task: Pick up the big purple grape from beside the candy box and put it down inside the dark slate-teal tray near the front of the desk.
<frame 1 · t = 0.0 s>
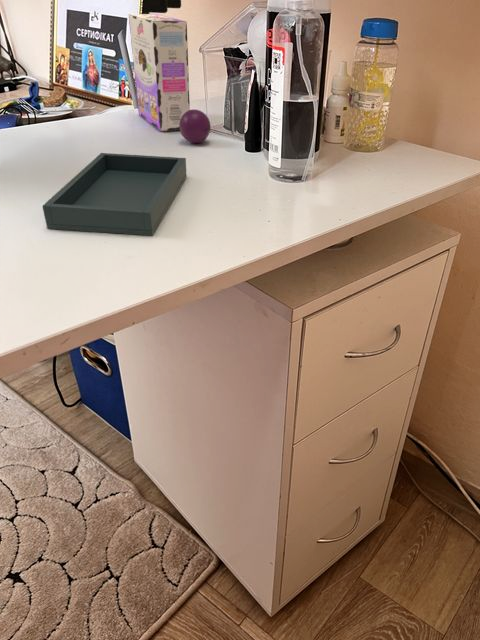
hand: (163, 10, 79), 18 cm above the table, tool pointing down, fingers open, 9 cm apart
grape: (195, 142, 87), on the table
candy box: (163, 123, 97), on the table
tray: (125, 199, 65), on the table
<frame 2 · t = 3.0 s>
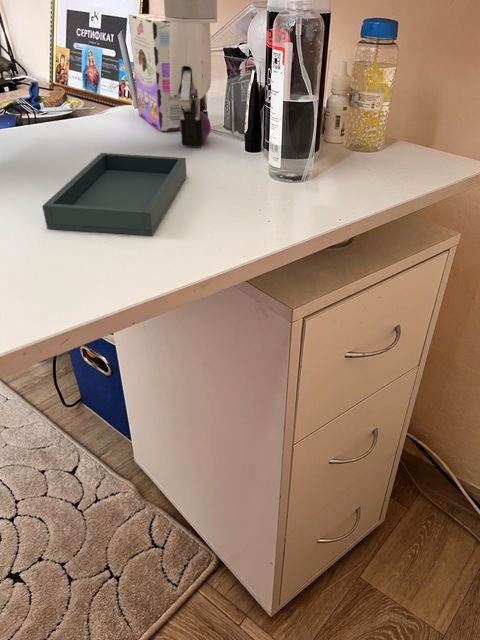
hand: (195, 139, 87), 0 cm above the table, tool pointing down, fingers closed on grape, 4 cm apart
grape: (195, 142, 87), on the table, touching gripper
everything else where it was.
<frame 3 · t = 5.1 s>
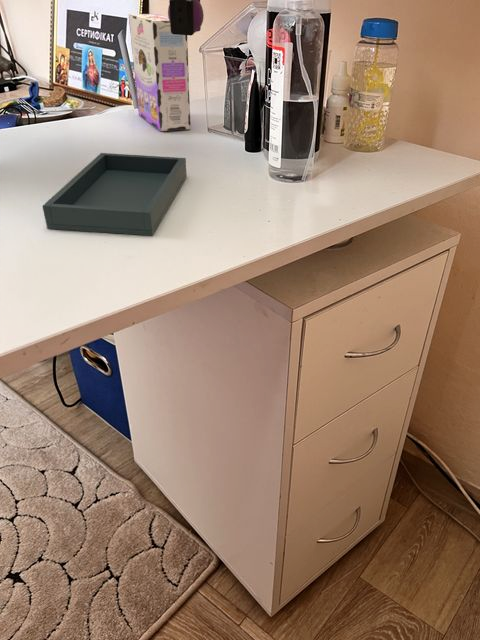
hand: (186, 31, 76), 16 cm above the table, tool pointing down, fingers closed on grape, 4 cm apart
grape: (186, 34, 77), point 15 cm above the table, touching gripper
everything else where it was.
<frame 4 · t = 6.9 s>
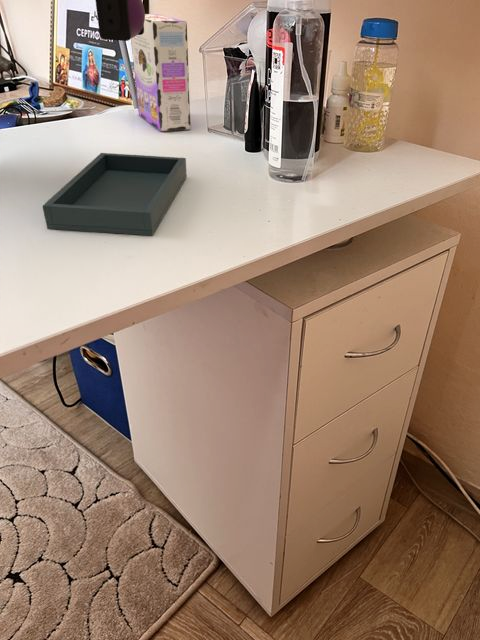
hand: (123, 34, 59), 17 cm above the table, tool pointing down, fingers closed on grape, 4 cm apart
grape: (124, 39, 59), point 17 cm above the table, touching gripper
everything else where it was.
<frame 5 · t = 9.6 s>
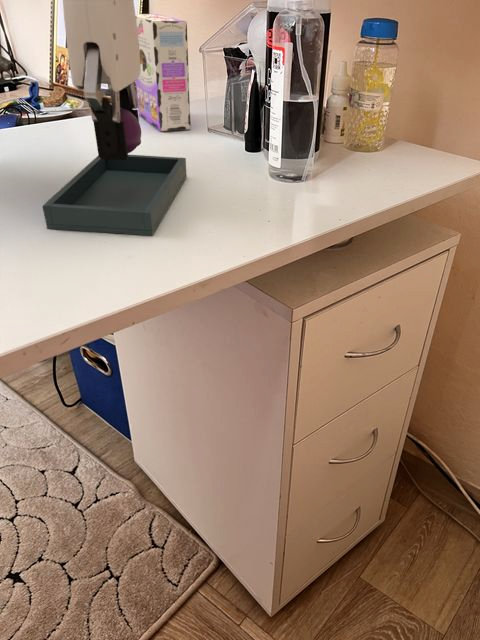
hand: (120, 149, 62), 6 cm above the table, tool pointing down, fingers closed on grape, 4 cm apart
grape: (121, 153, 62), point 6 cm above the table, touching gripper
everything else where it was.
when the fingers open (1 cm above the table, at t = 11.2 s): grape stays where it is, resting on tray.
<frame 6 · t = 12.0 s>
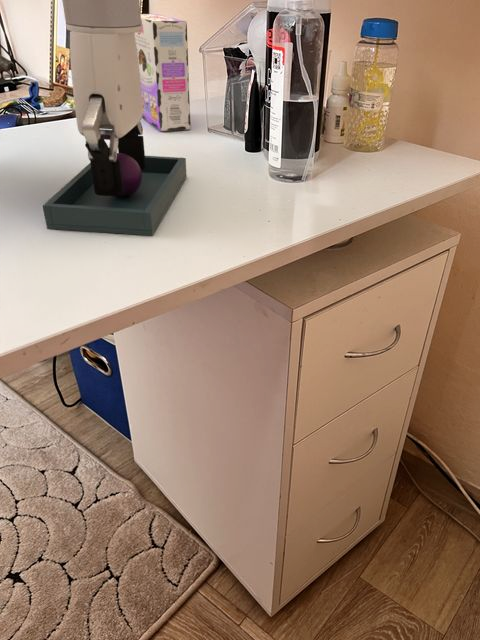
hand: (122, 180, 64), 2 cm above the table, tool pointing down, fingers open, 9 cm apart
grape: (125, 195, 65), point 1 cm above the table, tilted 8°, touching tray
everything else where it was.
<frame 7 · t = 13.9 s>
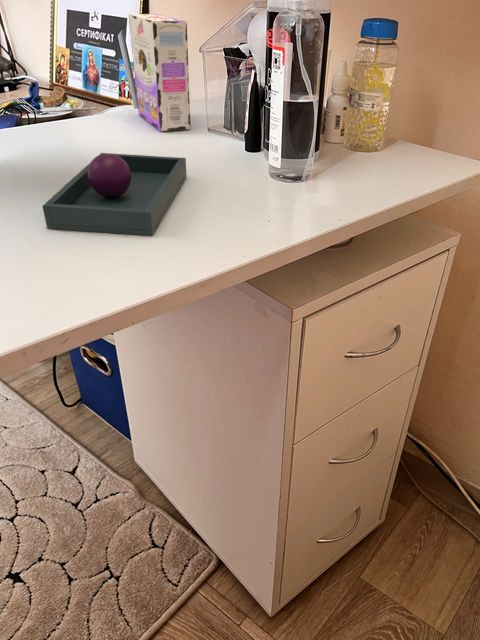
grape: (124, 191, 65), point 1 cm above the table, tilted 37°, touching tray
everything else where it was.
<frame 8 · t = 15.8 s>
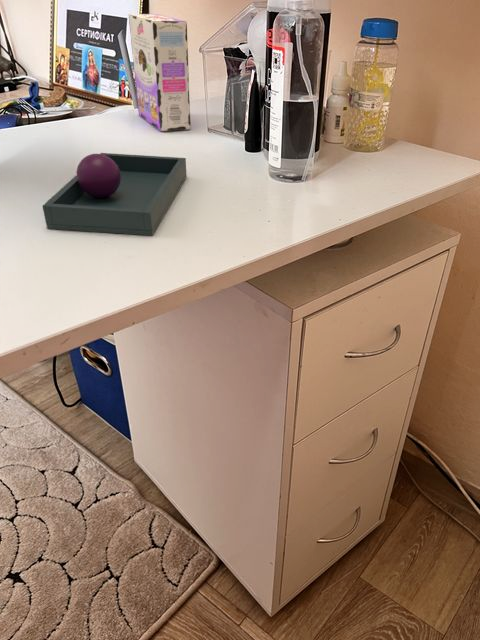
grape: (119, 183, 64), point 2 cm above the table, tilted 65°, touching tray
everything else where it was.
at the end: grape inside the target area in the tray (0.4 cm from its centre), point 2.1 cm above the tray's base; the gripper is holding nothing; candy box moved 0.2 cm from its start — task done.
